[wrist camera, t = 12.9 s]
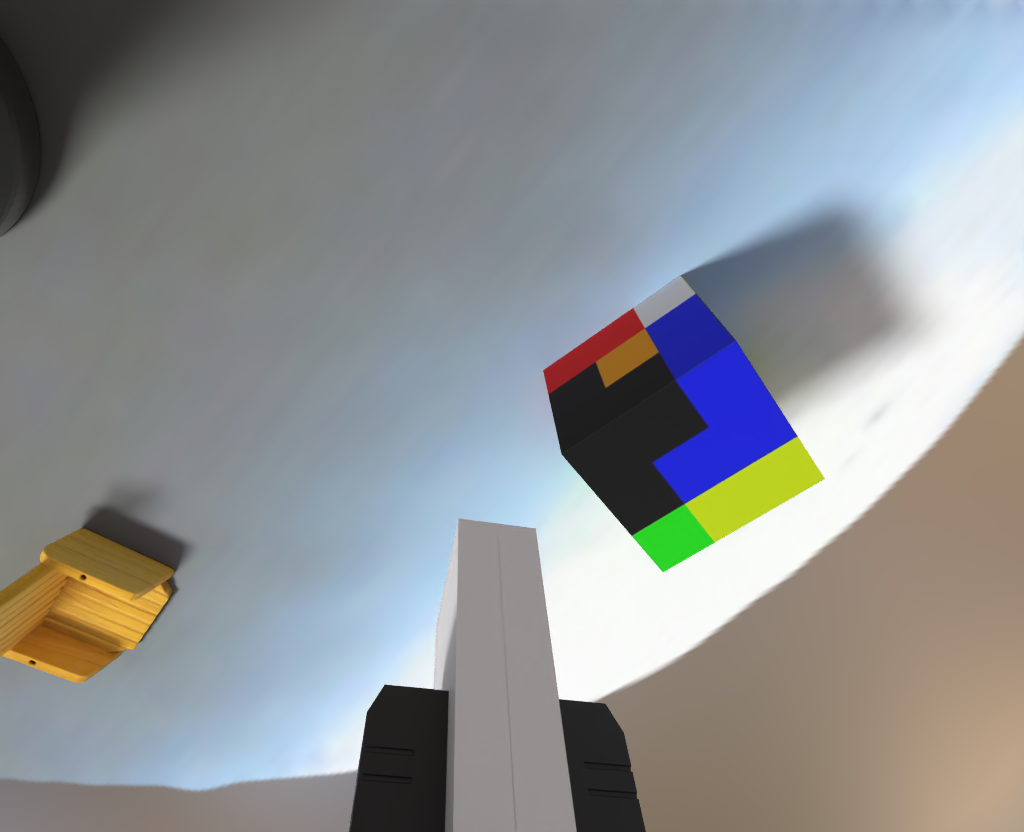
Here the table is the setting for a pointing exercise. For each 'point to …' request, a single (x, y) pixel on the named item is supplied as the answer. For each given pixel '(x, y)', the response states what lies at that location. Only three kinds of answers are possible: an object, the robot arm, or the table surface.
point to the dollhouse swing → (81, 606)
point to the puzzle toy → (675, 427)
